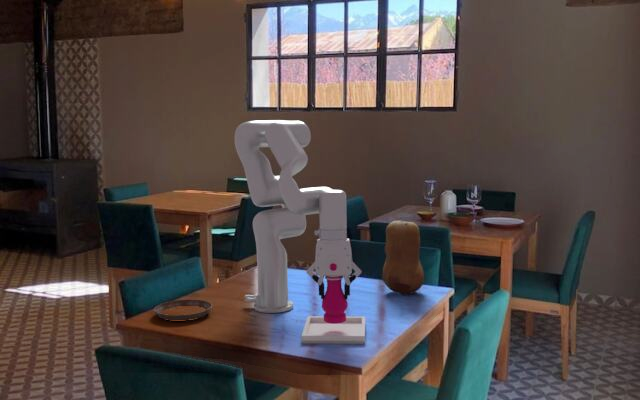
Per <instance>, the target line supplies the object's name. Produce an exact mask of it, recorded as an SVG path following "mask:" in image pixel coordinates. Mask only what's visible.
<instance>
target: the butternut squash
mask: <svg viewBox="0 0 640 400" xmlns="http://www.w3.org/2000/svg"><path fill="white" fill-rule="evenodd" d="M420 236H421V235H420V227H419V225H417V224H416V223H415V222H413V221H405V220H398V219H397V220H393V221H391V222H390V223H388V225H386V229H385V246H384V252H385V255H386V258H385V262H384V264H383V267H382V278H381V279H382V281H383V283H384V284H385V285H386V287H387V288H388V289H389V290H390V291H392V292H395V293H398V294H401V295H402V296H404V295H405V296H407V295H411V294H413V293H416V292H417V291H419V290H420V289H421V287H422V286H423V283H424V280H425V279H424V277H425V275H424V269H423V266H422V264H421V261H420V256H419V255H420V250H421V237H420Z"/></svg>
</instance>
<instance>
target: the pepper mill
mask: <svg viewBox="0 0 640 400" xmlns="http://www.w3.org/2000/svg"><path fill="white" fill-rule="evenodd" d="M336 266H337V265H336V264H334V263H332V264H330V270H332V271H335V270H336V269H337V267H338V266H337V267H336ZM324 279H326V290H325V292H324V299H322V301H321V309H322V310H323V312H324V313H323V316H324V321H325V322H327V323H331V324H338V323H343V322H345V321H346V317H347V313H346V310H347V309H348V306H349V305H348V299H345V292H344V291H343V287H342V280H343V279H344V277H343V276H324Z"/></svg>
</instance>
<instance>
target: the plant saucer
mask: <svg viewBox="0 0 640 400" xmlns="http://www.w3.org/2000/svg"><path fill="white" fill-rule="evenodd" d="M177 306H199V307H203V308H205V309H206V310H205V311H202V312H198V313H192V314H184V315H168V314H162V313H160V312H161V311H164V310H166V309H169V308H172V307H177ZM212 307H213V304H212V303H211V302H210V301H207V300H204V299H203V300H202V299H193V298H191V299H189V298H188V299H176V300H170V301H167V302H162V303H160V304H158V305H157V306H155V307H154V308H153V311H154V313H156V315H157V316H158V317H159V318H160V319H161V318H163V319H168V320H189V319H195V318H200V317H202V318H204V317H206V316H207V315H208V314H209V312H210V311H211V309H212ZM206 314H207V315H206ZM205 315H206V316H205ZM203 316H204V317H203ZM163 319H162V320H163ZM200 319H201V318H200Z"/></svg>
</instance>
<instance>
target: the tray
mask: <svg viewBox="0 0 640 400" xmlns="http://www.w3.org/2000/svg"><path fill="white" fill-rule="evenodd" d="M301 344H311V345H312V344H313V345H314V344H321V345H322V344H325V345H328V344H329V345H331V344H335V345H339V344H340V345H365V344H366V316H346V321H345V322H343V323H338V324H331V323H327V322H325V321H324V315H323V316H322V315H321V316H318V315H317V316H316V315H315V316H310V315H308V316H307V317H306V320H305V324H304V326H303V330H302V334H301Z"/></svg>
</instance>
